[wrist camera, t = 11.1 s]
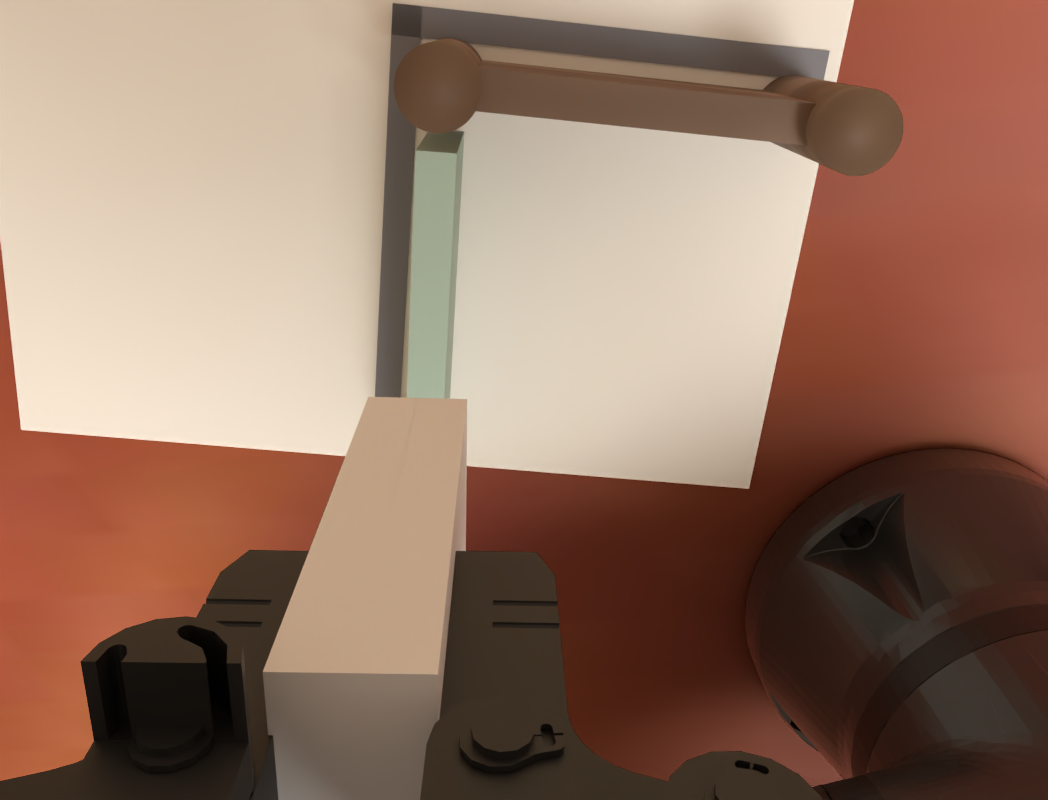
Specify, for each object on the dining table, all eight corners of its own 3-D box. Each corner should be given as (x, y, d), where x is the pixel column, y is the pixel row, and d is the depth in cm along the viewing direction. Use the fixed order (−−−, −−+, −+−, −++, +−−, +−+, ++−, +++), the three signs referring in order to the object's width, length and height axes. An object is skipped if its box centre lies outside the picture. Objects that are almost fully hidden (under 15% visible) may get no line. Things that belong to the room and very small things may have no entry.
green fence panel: (464, 131, 33) (456, 153, 27) (447, 442, 37) (438, 516, 31) (430, 128, 32) (415, 150, 27) (417, 440, 37) (402, 514, 31)
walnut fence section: (811, 147, 34) (891, 179, 27) (414, 106, 33) (391, 128, 26) (826, 78, 33) (912, 92, 26) (418, 34, 32) (396, 37, 25)
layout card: (747, 485, 39) (749, 490, 39) (24, 426, 37) (19, 430, 37) (852, -7, 32) (856, -7, 32) (-33, -108, 30) (-40, -110, 30)
